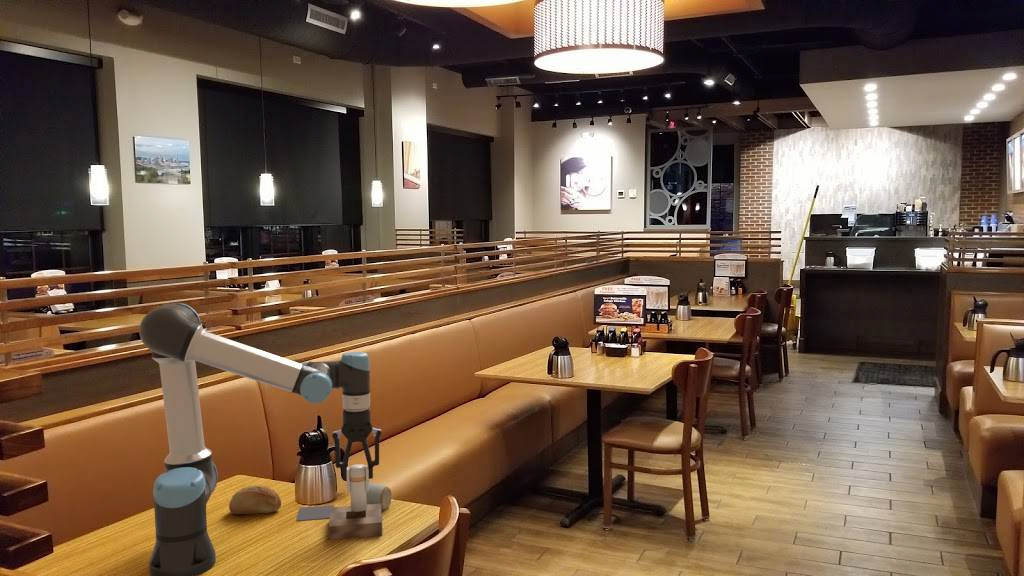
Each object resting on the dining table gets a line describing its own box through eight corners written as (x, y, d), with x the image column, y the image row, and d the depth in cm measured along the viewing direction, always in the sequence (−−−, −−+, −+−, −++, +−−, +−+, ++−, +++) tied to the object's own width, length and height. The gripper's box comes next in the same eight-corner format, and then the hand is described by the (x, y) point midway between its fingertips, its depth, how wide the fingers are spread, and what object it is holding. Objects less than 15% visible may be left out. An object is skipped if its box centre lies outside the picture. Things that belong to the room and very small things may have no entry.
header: (328, 541, 198) (327, 526, 198) (331, 520, 212) (330, 507, 212) (382, 536, 201) (382, 522, 200) (382, 516, 215) (381, 503, 215)
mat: (296, 522, 211) (296, 520, 211) (299, 509, 221) (299, 507, 221) (332, 519, 213) (332, 517, 213) (334, 506, 223) (333, 505, 223)
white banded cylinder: (350, 512, 204) (348, 470, 203) (351, 506, 208) (349, 464, 207) (367, 511, 204) (365, 468, 203) (367, 505, 209) (365, 463, 208)
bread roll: (277, 517, 215) (276, 491, 214) (224, 520, 213) (223, 493, 213) (284, 505, 224) (283, 480, 224) (233, 507, 223) (232, 482, 222)
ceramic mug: (382, 514, 216) (381, 489, 216) (357, 511, 219) (356, 486, 218) (397, 502, 226) (397, 478, 226) (373, 499, 229) (373, 475, 228)
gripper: (322, 413, 199) (324, 497, 201) (389, 410, 202) (390, 493, 204) (324, 406, 206) (326, 488, 208) (388, 403, 209) (389, 483, 211)
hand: (358, 490), depth 206 cm, fingers closed on white banded cylinder, 4 cm apart
